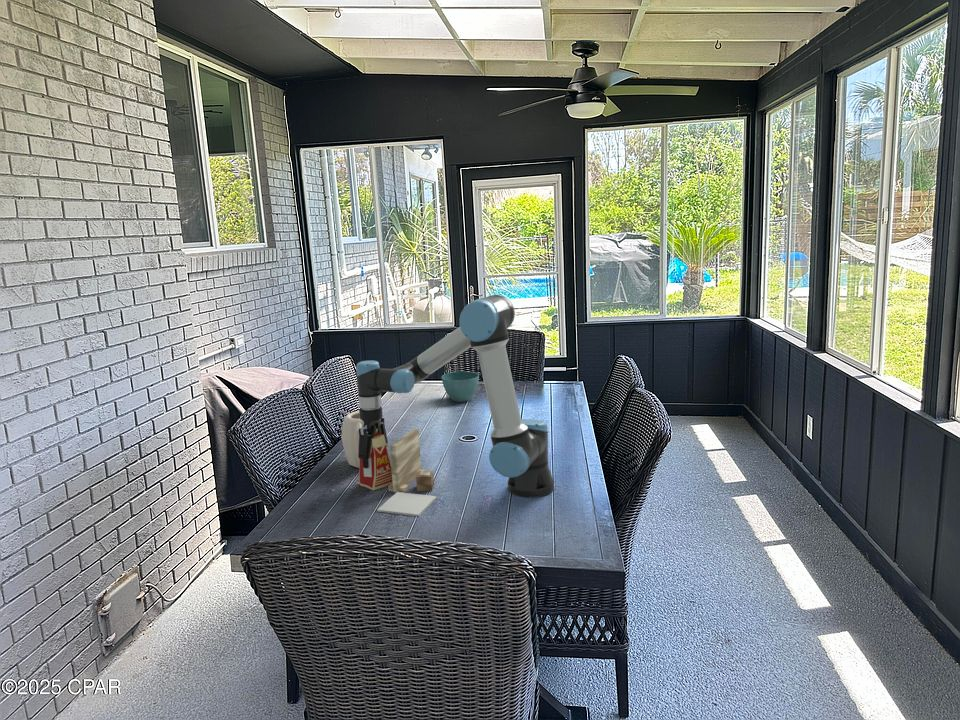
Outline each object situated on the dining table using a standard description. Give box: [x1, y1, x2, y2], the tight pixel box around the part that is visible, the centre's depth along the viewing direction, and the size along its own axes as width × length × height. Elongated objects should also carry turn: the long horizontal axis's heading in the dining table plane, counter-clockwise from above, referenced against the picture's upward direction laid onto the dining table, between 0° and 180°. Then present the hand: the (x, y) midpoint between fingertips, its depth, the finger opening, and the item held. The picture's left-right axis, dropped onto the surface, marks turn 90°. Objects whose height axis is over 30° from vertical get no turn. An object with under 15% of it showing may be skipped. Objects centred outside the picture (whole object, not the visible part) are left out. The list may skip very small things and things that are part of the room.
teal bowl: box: [441, 371, 480, 403], centre depth 330 cm, size 18×18×12 cm
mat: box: [376, 492, 438, 517], centre depth 210 cm, size 14×14×1 cm
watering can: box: [340, 410, 364, 469], centre depth 247 cm, size 16×27×19 cm, turn 1°
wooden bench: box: [387, 428, 427, 493], centre depth 227 cm, size 6×18×16 cm, turn 161°
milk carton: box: [358, 429, 393, 491], centre depth 226 cm, size 9×9×20 cm
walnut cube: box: [415, 470, 435, 492], centre depth 223 cm, size 5×5×5 cm
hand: (375, 471), depth 227 cm, fingers closed on milk carton, 9 cm apart
